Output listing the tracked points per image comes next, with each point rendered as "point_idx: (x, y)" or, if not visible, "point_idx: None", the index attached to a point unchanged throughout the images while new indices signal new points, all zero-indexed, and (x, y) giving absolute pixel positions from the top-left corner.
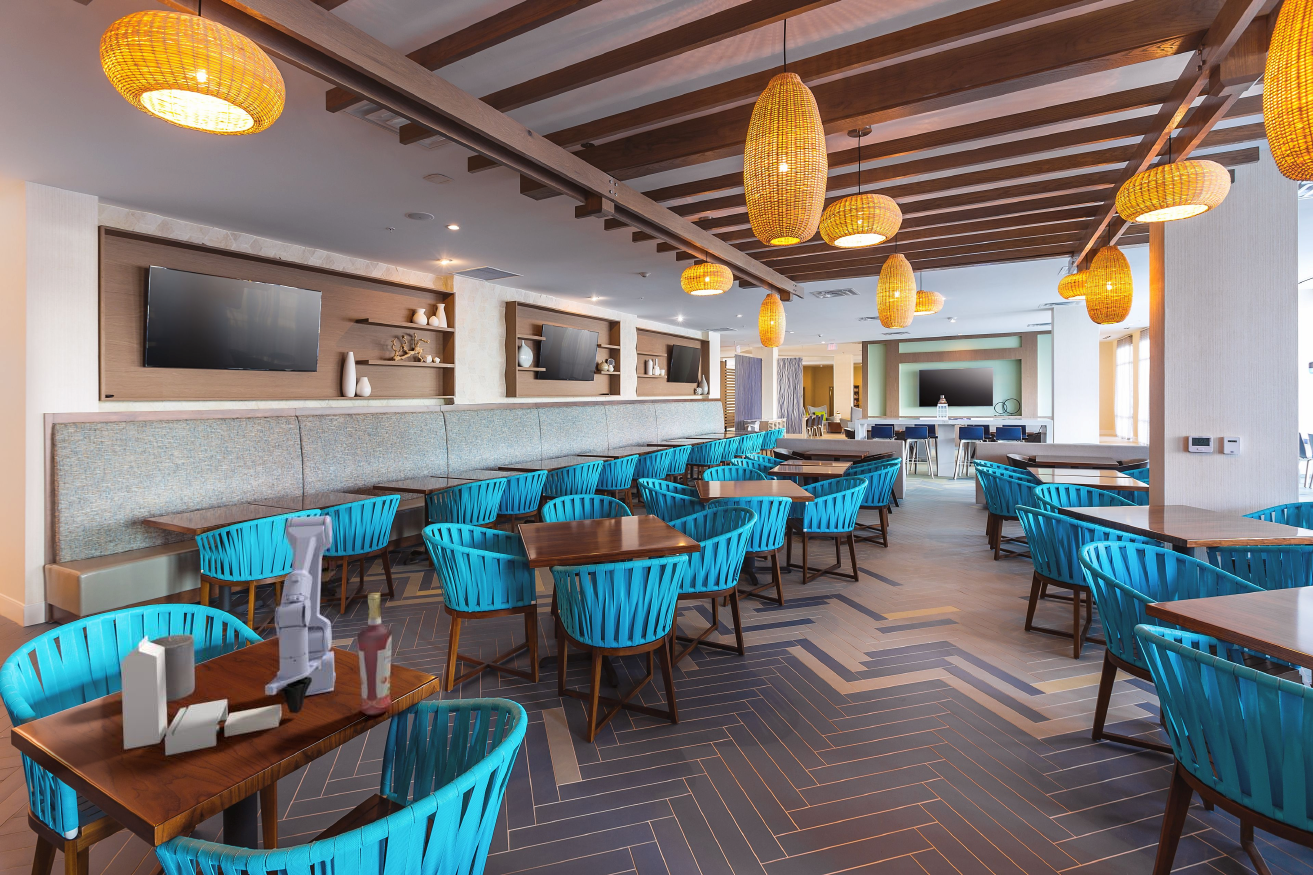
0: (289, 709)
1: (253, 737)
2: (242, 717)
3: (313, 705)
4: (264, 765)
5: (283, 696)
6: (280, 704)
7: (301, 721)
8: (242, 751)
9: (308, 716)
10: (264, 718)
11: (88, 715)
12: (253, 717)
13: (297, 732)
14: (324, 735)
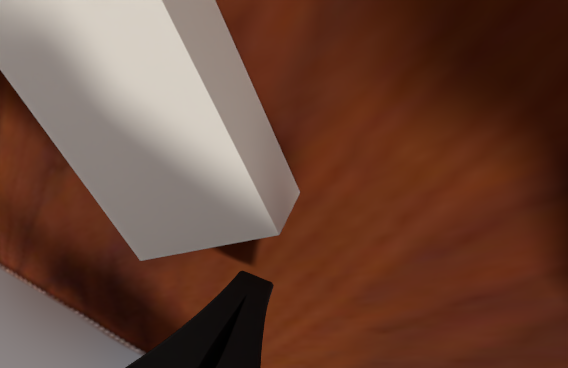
0: (231, 284)
1: None
2: (48, 35)
3: (399, 315)
4: (4, 257)
5: (145, 354)
6: (274, 230)
7: None
8: (5, 165)
9: (274, 310)
10: (99, 201)
11: None
12: (80, 129)
13: (156, 296)
14: None
